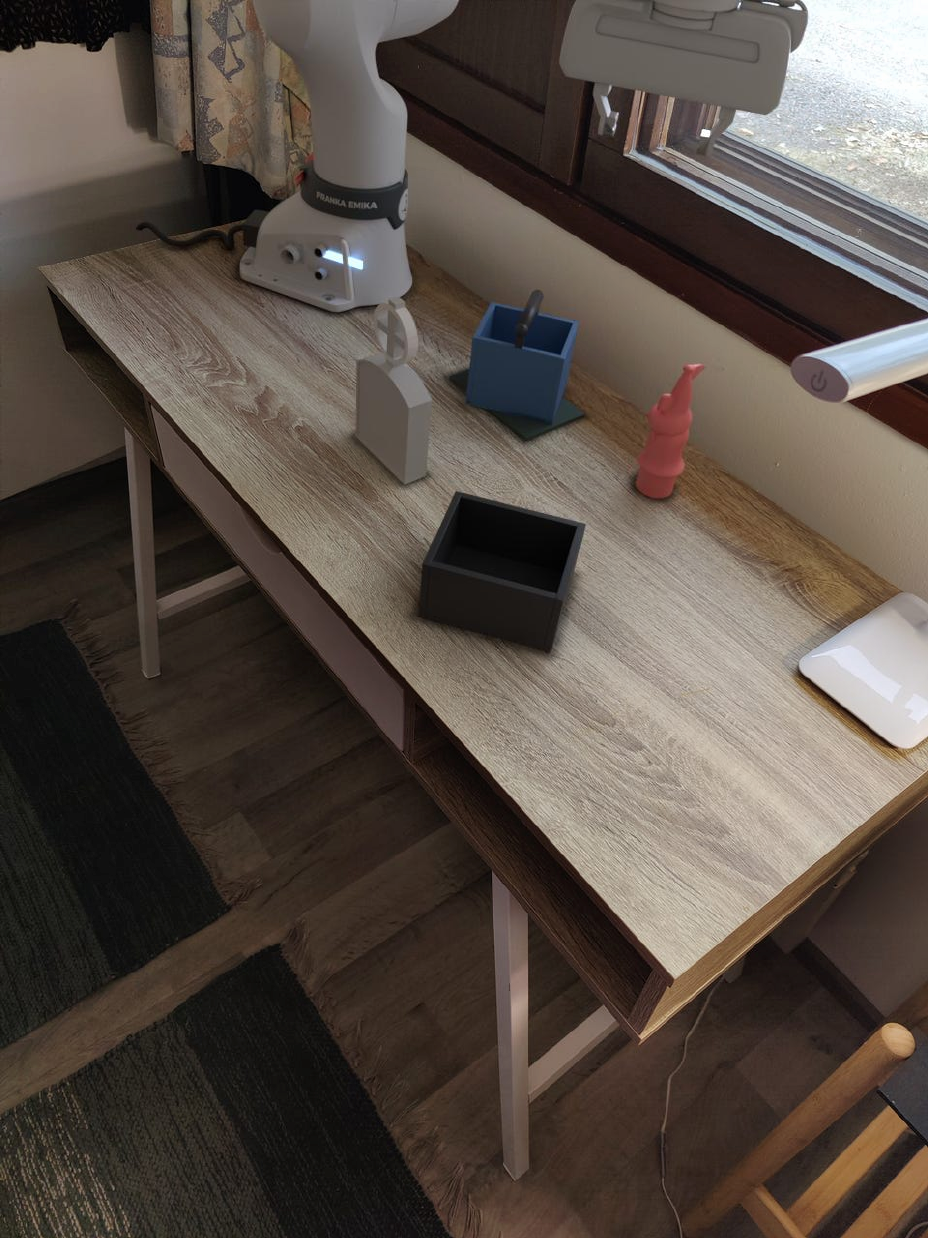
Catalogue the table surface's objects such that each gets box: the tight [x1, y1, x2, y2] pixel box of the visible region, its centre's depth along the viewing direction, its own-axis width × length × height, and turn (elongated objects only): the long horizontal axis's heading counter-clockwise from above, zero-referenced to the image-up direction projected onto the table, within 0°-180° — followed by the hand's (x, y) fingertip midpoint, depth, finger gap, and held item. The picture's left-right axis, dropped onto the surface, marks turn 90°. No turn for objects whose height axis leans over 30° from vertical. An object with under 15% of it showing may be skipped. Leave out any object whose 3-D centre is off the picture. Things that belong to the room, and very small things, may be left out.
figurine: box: [635, 363, 706, 499], centre depth 97 cm, size 5×5×15 cm
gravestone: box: [355, 296, 433, 485], centre depth 95 cm, size 3×9×18 cm, turn 37°
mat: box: [448, 368, 586, 442], centre depth 111 cm, size 14×9×1 cm, turn 39°
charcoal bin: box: [417, 490, 587, 653], centre depth 87 cm, size 12×10×7 cm
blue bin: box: [464, 289, 580, 425], centre depth 107 cm, size 10×9×11 cm
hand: (654, 143), depth 91 cm, fingers open, 8 cm apart
